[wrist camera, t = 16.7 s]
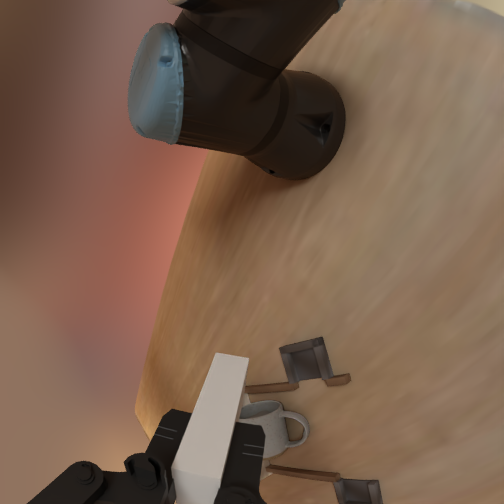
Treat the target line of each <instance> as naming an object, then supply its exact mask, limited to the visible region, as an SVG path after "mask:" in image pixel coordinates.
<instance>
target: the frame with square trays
mask: <svg viewBox="0 0 504 504" xmlns="http://www.w3.org/2000/svg"><path fill="white" fill-rule="evenodd" d="M279 350H280V353H281V356H282V360H283V363H284V367H285V370H286V374H287V377H288V381H289V382H284V383H274V384H264V385H252V386H245V391H244V398H243V404H242V407H243V406H245V405H248V404H251V403H250V400H249V397H248V393H261V392H277V391H289V390H295V389H297V388H299V384H298V381H300V380H306V379H314V378H321V377H322V380H326V383H327V386H335V385H342V384H347V383H349V382H350V381H351V377H350V374H349V373H348V374H343V375H336V376H334V375H333V372H332V368H331V364H330V361H329V357H328V354H327V350H326V347H325V344H324V340H323V337H319V338H315V339H311V340H307V341H303V342H299V343H294V344H290V345H286V346H283V347H280V348H279ZM273 473H275V474H280V475H286V476H292V477H298V478H305V479H312V480H320V481H328V482H333V483H334V487H335V490H336V494H337V498H338V502H339V504H383V501H382V496H381V491H380V486H379V481H378V480H352V479H343V478H340V474H339V473H331V472H320V471H311V470H302V469H295V468H288V467H281V466H275V465H270V463H269V460H263V462H262V469H261V476H260V480H263V479H264V478H266V477H268V476H269V475H271V474H273Z"/></svg>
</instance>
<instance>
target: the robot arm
mask: <svg viewBox="0 0 504 504" xmlns="http://www.w3.org/2000/svg"><path fill="white" fill-rule="evenodd" d="M344 1H345V0H168V2H169V3H170V4H173V5H175V6H179V7H181V8H183V10H182V12H181V14H180V15H179V17H178V18H177V20H176V21H175V23H174V24H173V25H172V24H170V23H158V24H155V25H153V26H152V27H151V28H150V29H149V32H147V33H146V34H145V36H144V37H143V39H142V41H141V43H140V45H139V48H138V50H137V53H136V56H135V59H134V62H133V66H132V70H131V75H130V81H129V88H128V112H129V118H130V121H131V124H132V126H133V128H134V129H135V131H136V132H137V133H138V134H140V135H141V136H143V137H146V138H151V139H155V140H159V141H163V142H166V143H168V144H170V145H172V144H179V145H185V146H192V147H198V148H204V149H209V150H215V151H221V152H226V153H231V154H236V155H241V156H244V157H245V158H247V159H248V160H250V161H251V162H252V163H254V164H255V165H257V166H258V167H260V168H261V169H262V170H264V171H265V172H267V173H268V174H271V175H273V176H276V177H279V178H284V179H290V180H299V179H304V178H307V177H310V176H312V175H314V174H316V173H317V172H319V171H320V170H321V169H323V168H324V167H325V166H326V165H327V164H328V163H329V162H330V160H331V159H332V158H333V156H334V155H335V153H336V152H337V150H338V148H339V146H340V143H341V141H342V138H343V134H344V130H345V109H344V105H343V102H342V99H341V97H340V95H339V93H338V92H337V90H336V89H335V88H334V87H333V86H332V85H331V84H330V83H328V82H327V81H325V80H324V79H322V78H320V77H319V76H317V75H315V74H312V73H309V72H304V71H293V70H285V68H286V67H287V66H288V64H289V63H290V62H291V61H292V60H293V59H294V57H295V56H296V55H297V54H298V53H299V52H300V51H301V49H302V48H303V47H304V46H305V45H306V44H307V43H308V41H309V40H310V39H311V38H312V37H313V36H314V35H315V34H316V32H317V31H318V30H319V29H320V28H321V27H322V26H323V25H324V24H325V23H326V22H327V20H328V19H329V18H330V17H331V16H332V15H333V14H336V13H337V12H339V11H340V10H341V7H342V6H343V3H344ZM248 363H249V358H245V357H239V356H233V355H227V354H222V353H216V354H215V357H214V359H213V362H212V364H211V367H210V370H209V372H208V375H207V377H206V380H205V382H204V385H203V388H202V390H201V393H200V395H199V398H198V400H197V403H196V406H195V408H194V411H193V413H188V412H184V411H179V410H175V409H171V410H170V411H169V412H167V413H166V414H165V415H164V416H163V417H162V419H161V421H160V423H159V425H158V427H157V429H156V432H155V435H154V436H153V438H152V440H151V442H150V444H149V446H148V448H147V450H146V452H145V453H137V454H133V455H131V456H129V457H128V458H127V459H126V460H125V461H124V465H125V468H126V472H110V471H102V470H101V469H100V468H99V467H98V466H97V465H96V464H94V463H92V462H87V461H80V462H76V463H74V464H72V465H71V466H70V467H68V468H67V469H66V470H65V471H64V472H63V473H62V474H60V475H59V476H58V477H57V478H56V479H55V480H54V481H53V482H51V483H50V484H49V485H48V486H47V487H46V488H45V489H43V490H42V491H41V492H40V493H39V494H38V495H36V496H35V497H34V498H33V499H32V500H31V501H30V502H28V503H27V504H174V502H175V500H176V503H177V504H267V503H266V502H264V500H263V499H262V498H261V496H260V493H259V484H260V476H261V469H262V462H263V454H264V446H265V438H266V435H265V433H264V430H263V428H262V426H261V425H254V424H247V423H241V422H239V417H240V413H241V408H242V404H243V398H244V391H245V384H246V377H247V370H248Z"/></svg>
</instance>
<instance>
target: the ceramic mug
mask: <svg viewBox="0 0 504 504" xmlns="http://www.w3.org/2000/svg"><path fill="white" fill-rule="evenodd" d="M285 417H289V418H292V419H295V420H297V421H299V422H300V423H301V424H302V425H303V426H304V433H303V438H302V439H301V440H298V441H292V442H290V441H289V438H288V433H287V428H286V422H285ZM239 422H241V423H247V424H254V425H261V426H262V428H263V430H264V433H265V435H266V438H265V446H264V454H263V460H270V459H273V458H276V457H278V456H280V455H282V454H283V453H284V452H285V451H286V450H287V448H288V447H296V446H299V445H301V444H302V443H303V442H304V441H305V440H306V439H307V437H308V435H309V432H310V428H309V423H308V421H307V420H306V418H305V417H303V416H302V415H300V414H298V413H296V412H290V411H283V406H282V404H281V403H280V402H278V401H272V400H267V401H259V402H254V403H251V404H248V405H245V406H243V407H242V408H241V413H240V417H239Z"/></svg>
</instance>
